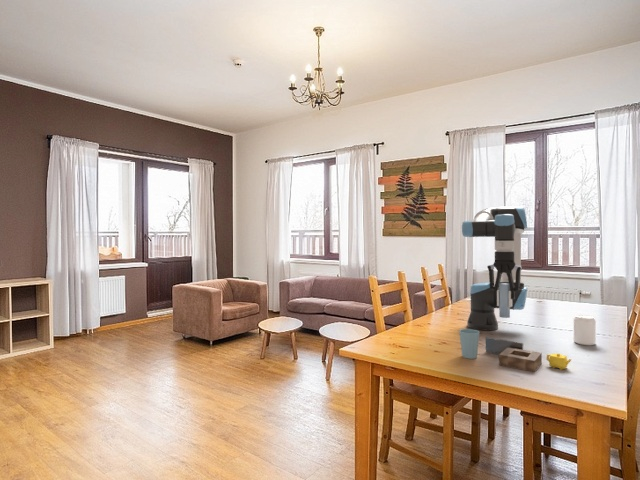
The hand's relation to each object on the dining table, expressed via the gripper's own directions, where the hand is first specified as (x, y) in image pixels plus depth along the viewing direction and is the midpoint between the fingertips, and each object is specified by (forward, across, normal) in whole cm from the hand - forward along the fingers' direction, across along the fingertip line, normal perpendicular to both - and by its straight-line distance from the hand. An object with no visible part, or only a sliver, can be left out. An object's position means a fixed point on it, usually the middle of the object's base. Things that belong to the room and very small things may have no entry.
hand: (504, 305), depth 166 cm
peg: (+5, 0, 0) cm, 5 cm away
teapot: (+19, +22, -10) cm, 31 cm away
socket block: (+19, +10, -15) cm, 26 cm away
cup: (+19, -9, -18) cm, 27 cm away
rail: (+19, +2, -7) cm, 20 cm away
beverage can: (+19, +25, +32) cm, 45 cm away
